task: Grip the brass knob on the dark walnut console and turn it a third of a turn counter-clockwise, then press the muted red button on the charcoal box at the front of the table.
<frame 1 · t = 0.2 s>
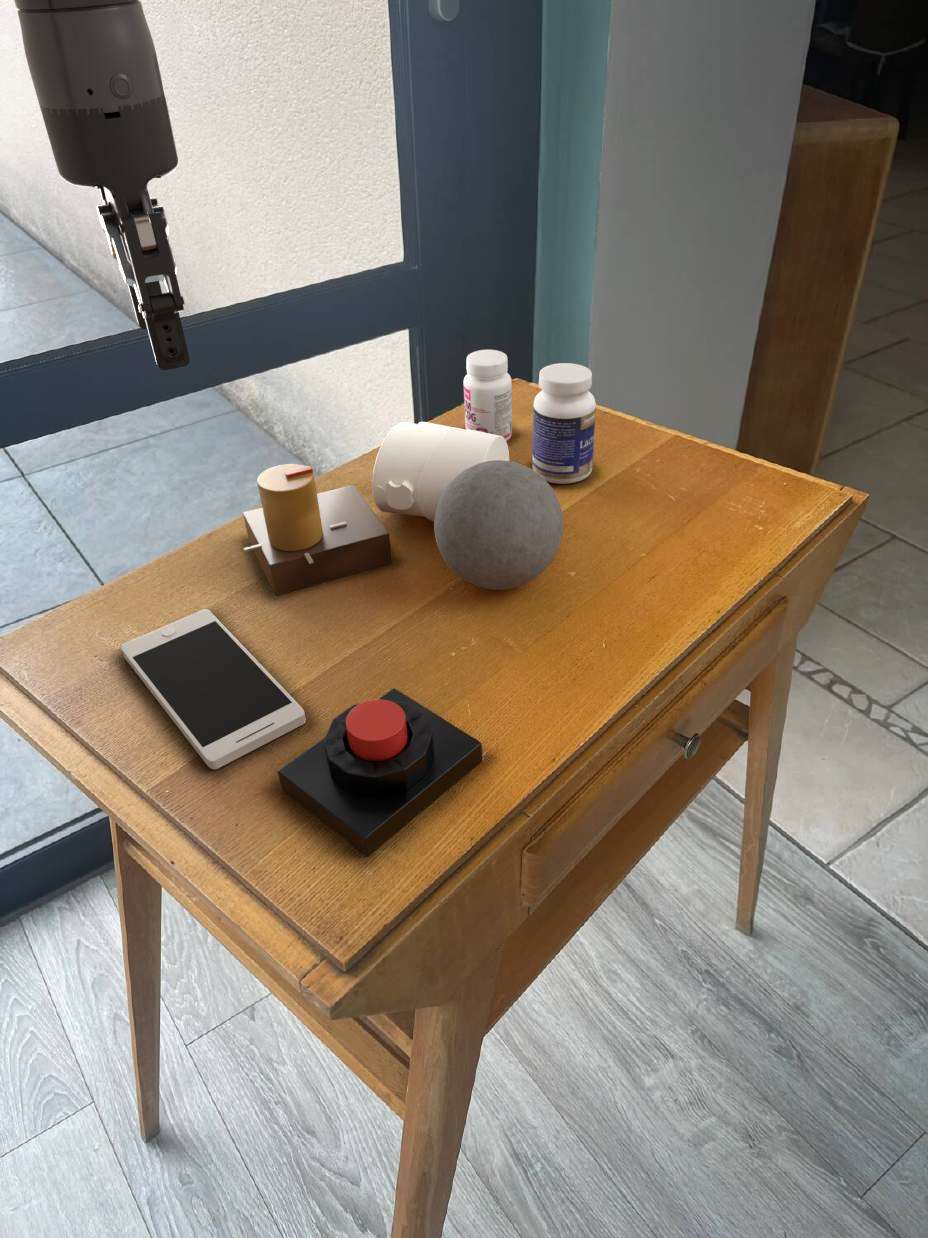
hand: (164, 345, 68), 19 cm above the table, tool pointing down, fingers open, 8 cm apart
console: (319, 552, 80), on the table
pill bottle 2: (562, 473, 89), on the table
knob: (290, 505, 74), point 6 cm above the table, hinge at 0.0°
mug: (451, 508, 85), on the table
button: (376, 729, 57), point 4 cm above the table, slide at 0.2 cm
button box: (383, 775, 59), on the table
smartphone: (211, 688, 66), on the table
pill bottle: (488, 437, 96), on the table
decorative ball: (499, 579, 76), on the table
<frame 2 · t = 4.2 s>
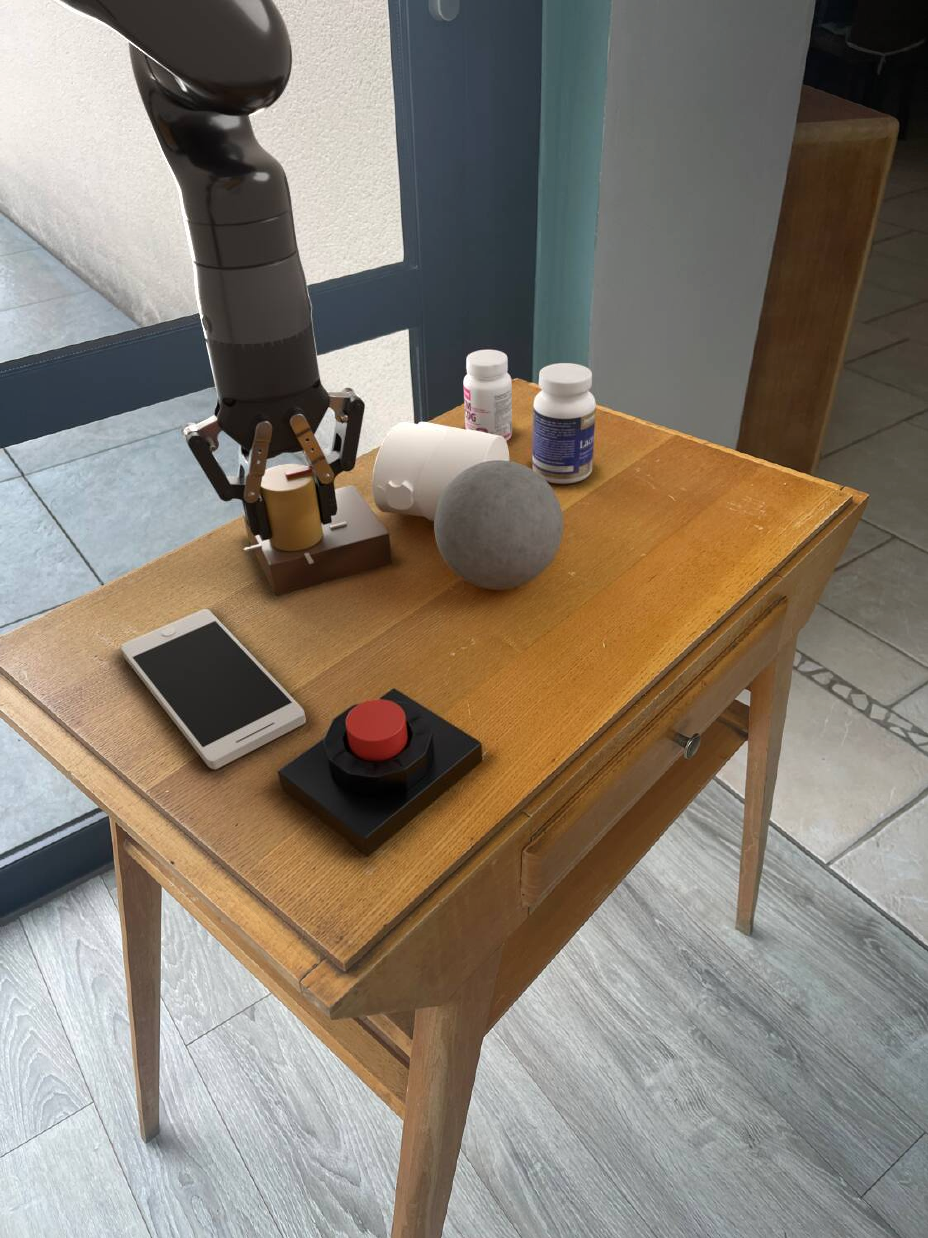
hand: (293, 526, 76), 4 cm above the table, tool pointing down, fingers closed on knob, 4 cm apart
knob: (290, 505, 74), point 6 cm above the table, hinge at 0.0°, touching gripper
everything else where it was.
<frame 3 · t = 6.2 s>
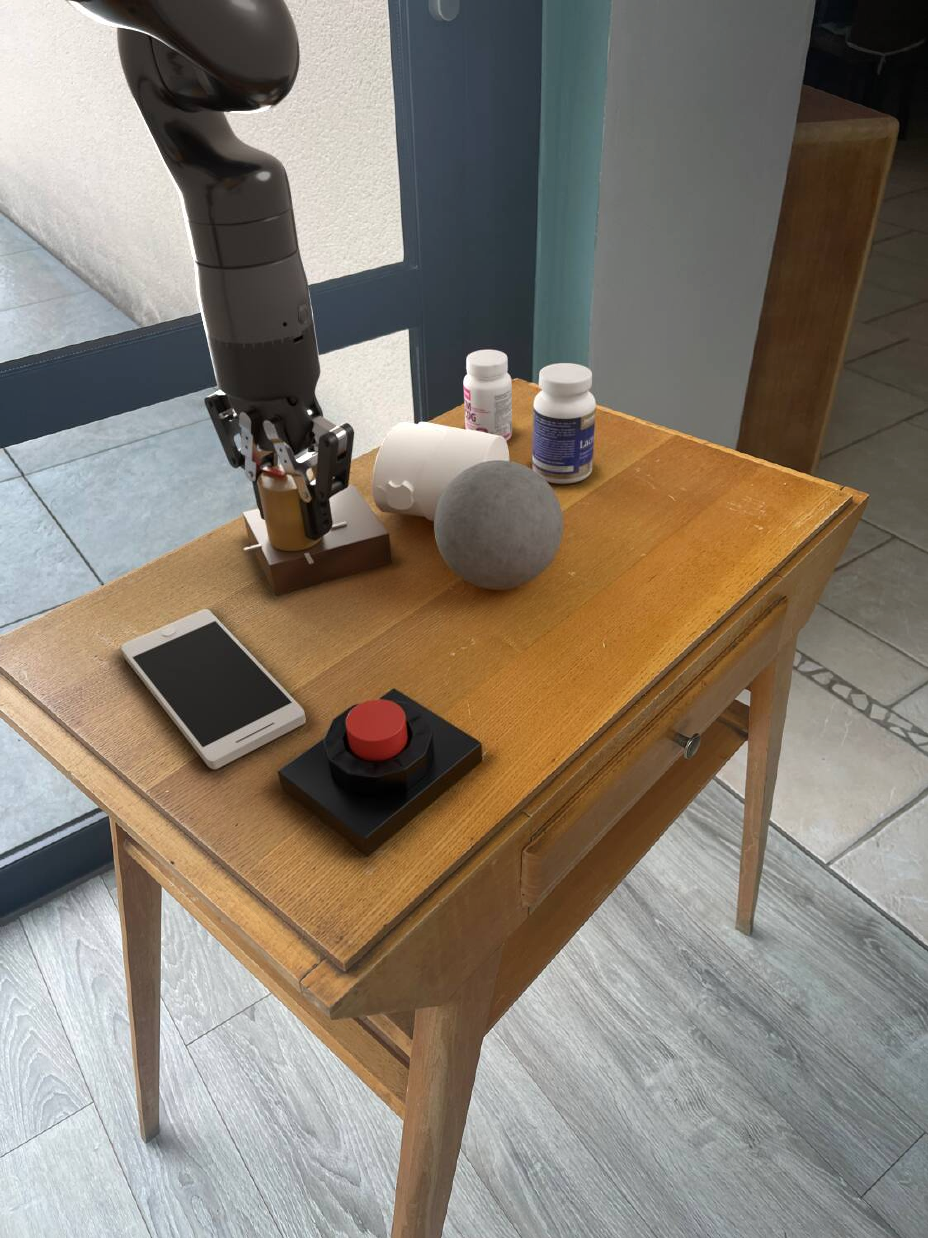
hand: (296, 525, 76), 4 cm above the table, tool pointing down, fingers closed on knob, 4 cm apart
knob: (290, 505, 74), point 6 cm above the table, hinge at 124.4°, touching gripper
everything else where it was.
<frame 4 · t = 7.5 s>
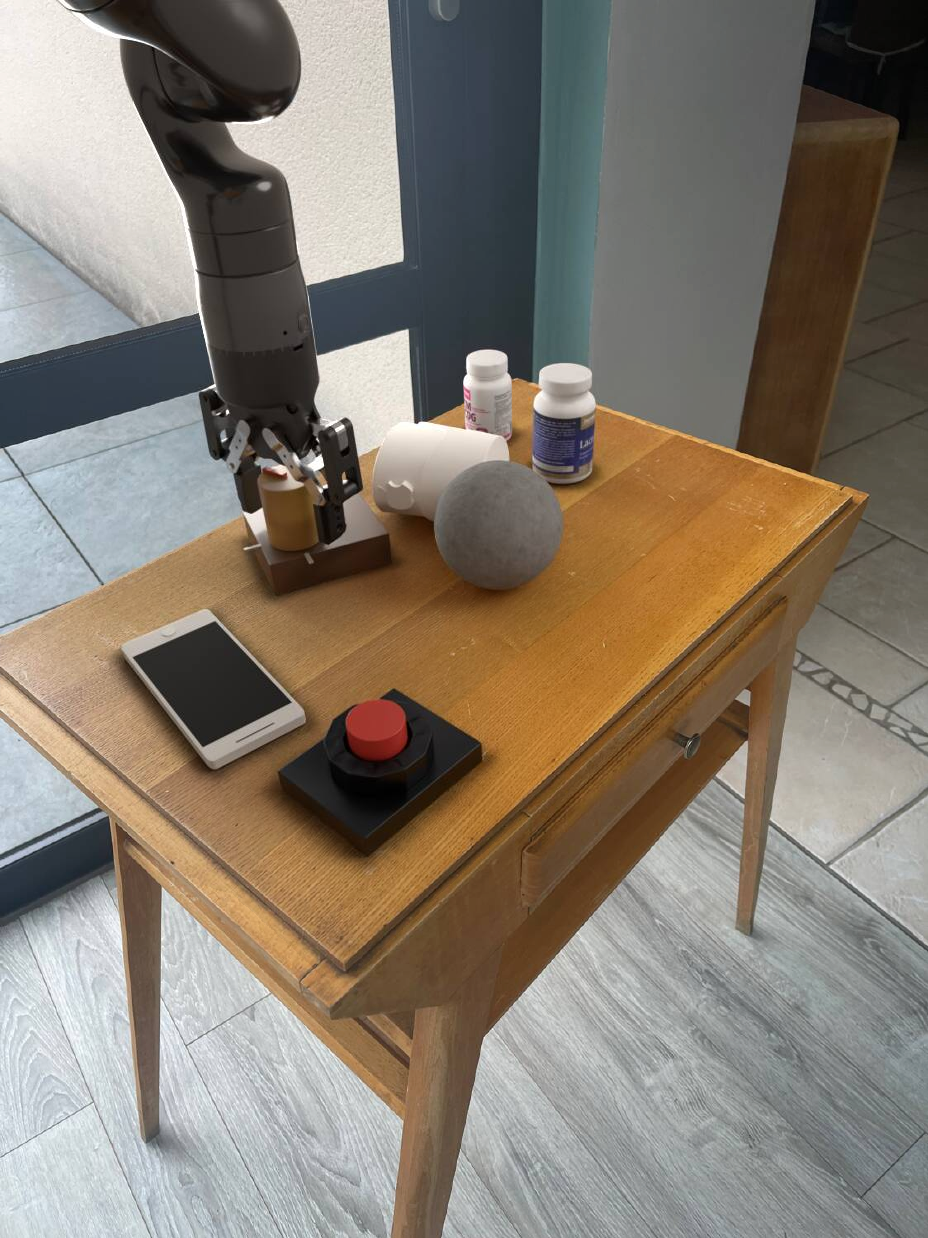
hand: (293, 523, 75), 4 cm above the table, tool pointing down, fingers open, 8 cm apart
knob: (290, 505, 74), point 6 cm above the table, hinge at 123.7°
everything else where it was.
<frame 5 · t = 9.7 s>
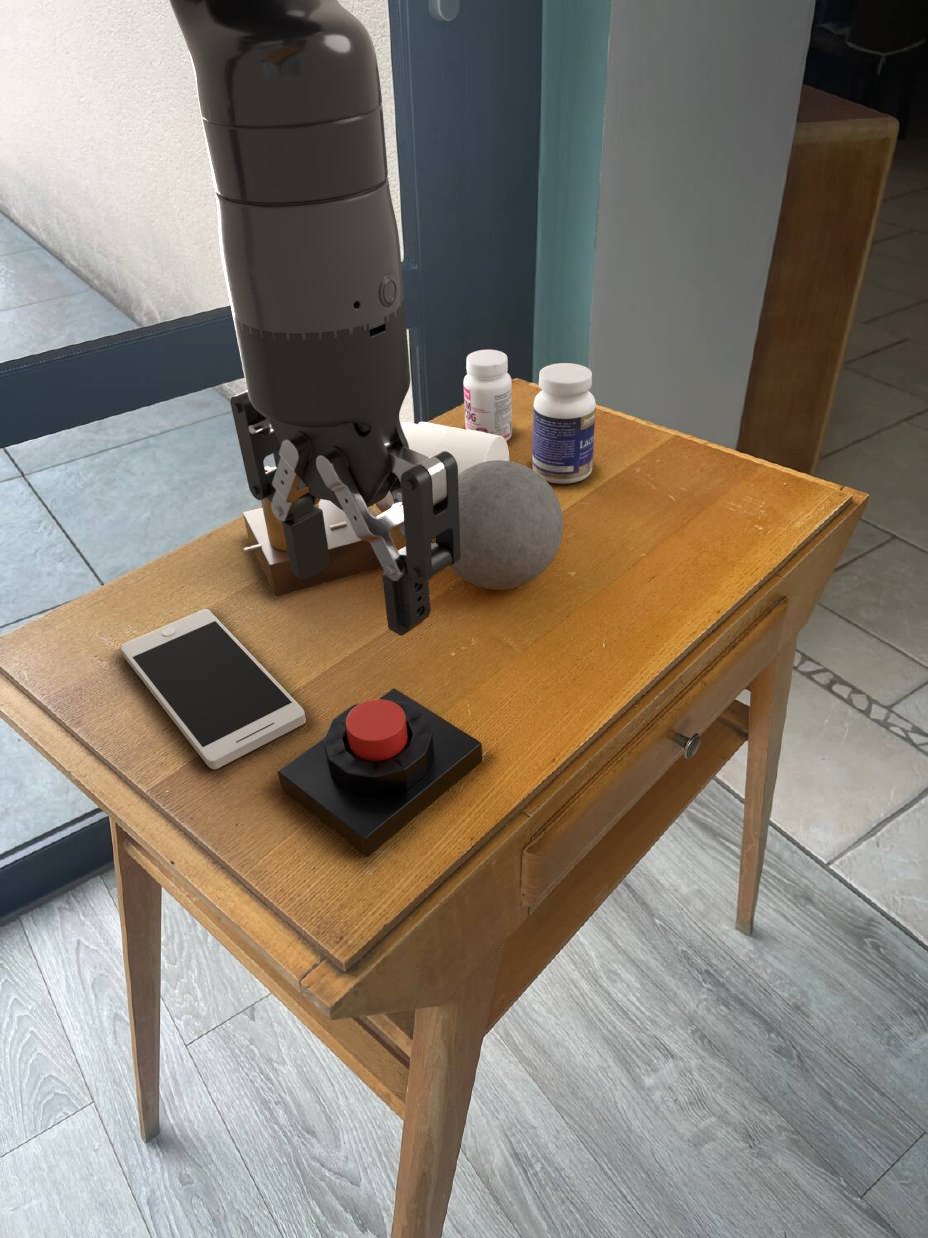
hand: (358, 597, 51), 14 cm above the table, tool pointing down, fingers open, 7 cm apart
nothing on the table moved.
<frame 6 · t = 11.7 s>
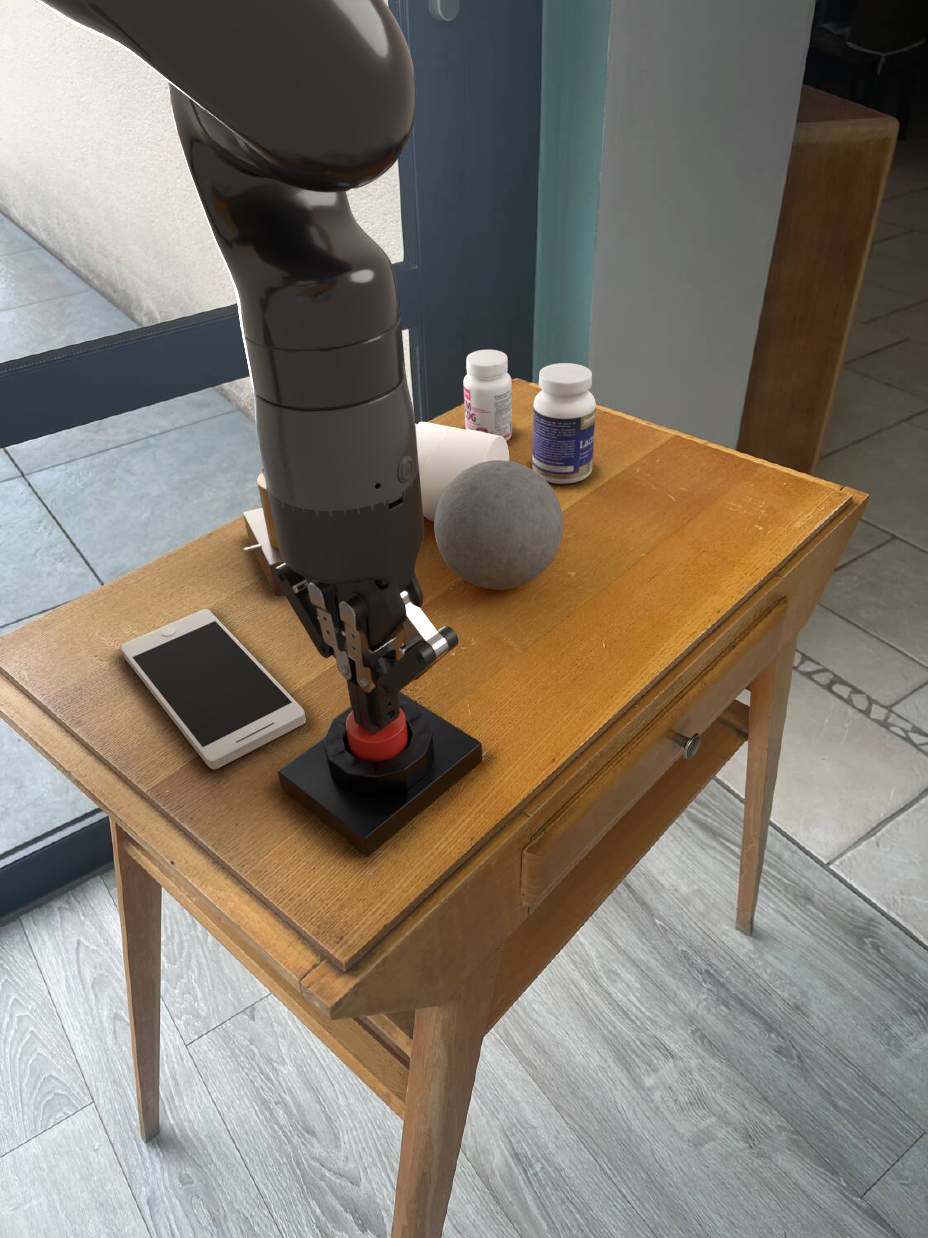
hand: (377, 721, 56), 5 cm above the table, tool pointing down, fingers closed
button: (377, 731, 57), point 4 cm above the table, slide at 0.0 cm, touching gripper
everything else where it was.
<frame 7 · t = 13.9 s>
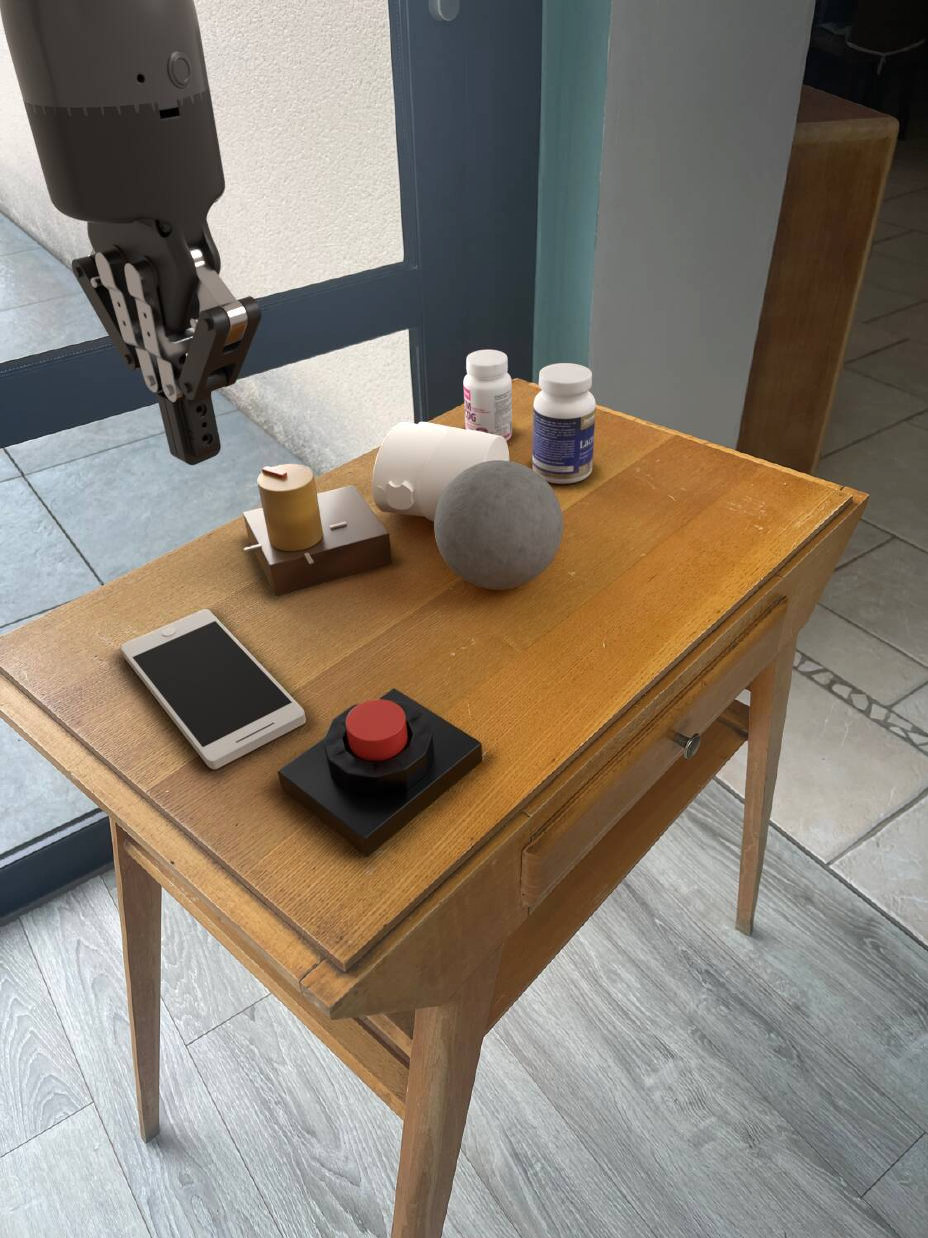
hand: (197, 455, 49), 21 cm above the table, tool pointing down, fingers closed
button: (376, 729, 57), point 4 cm above the table, slide at 0.2 cm
everything else where it was.
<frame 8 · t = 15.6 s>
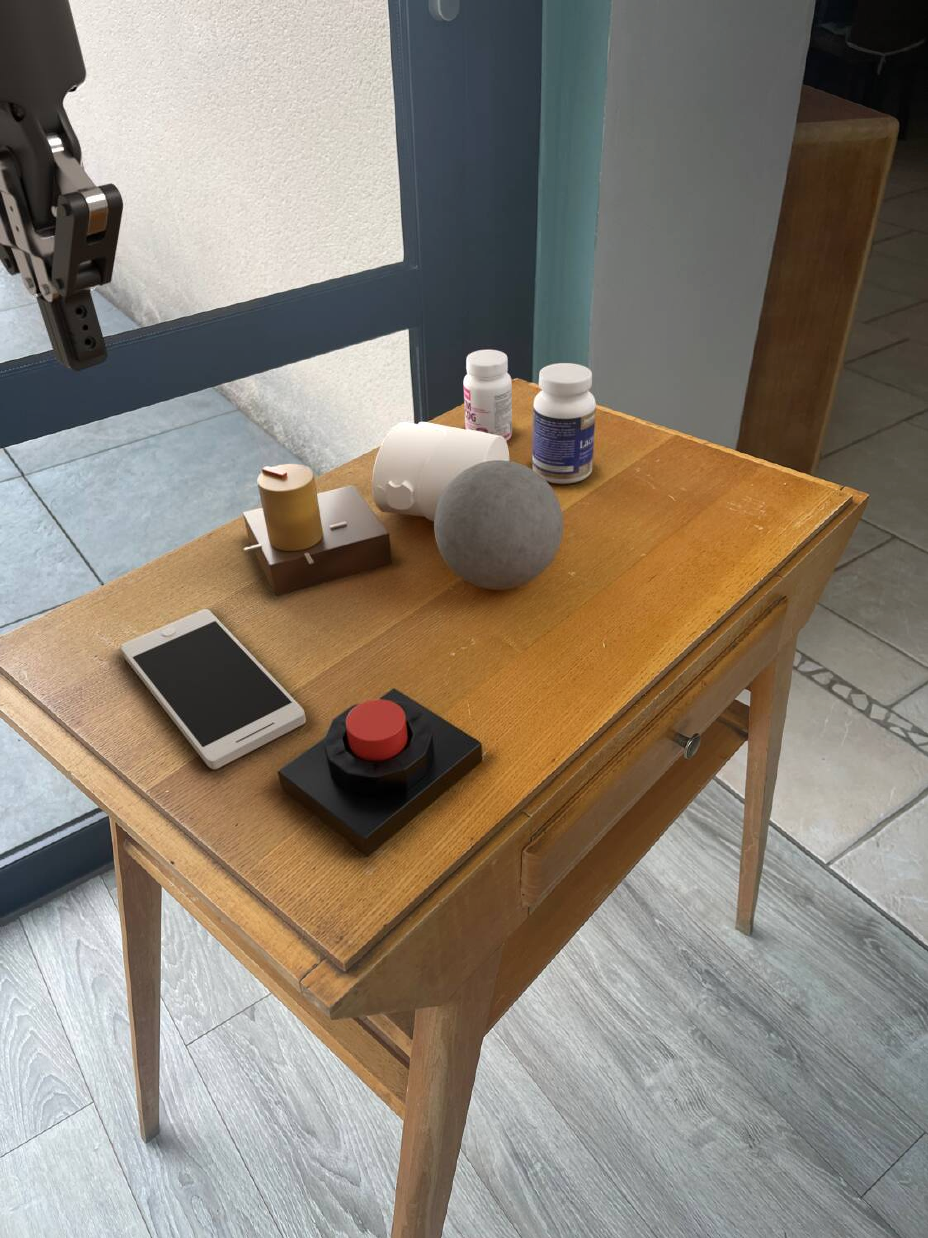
hand: (84, 363, 50), 25 cm above the table, tool pointing down, fingers closed
nothing on the table moved.
at the end: knob at +124° (first picture: +0°); button pushed in 1.1 cm at the most during the clip, back to 0.2 cm at the end; button slide at 0.2 cm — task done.
